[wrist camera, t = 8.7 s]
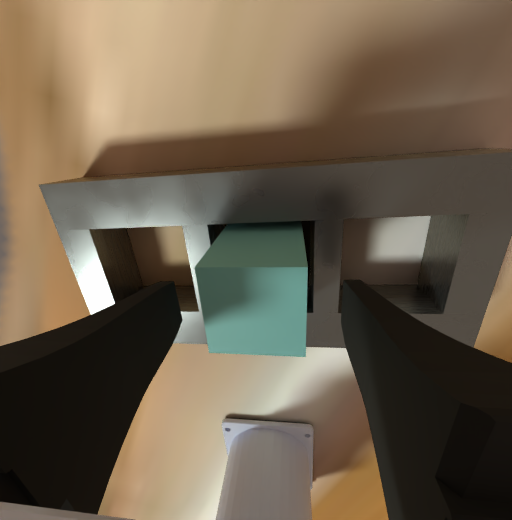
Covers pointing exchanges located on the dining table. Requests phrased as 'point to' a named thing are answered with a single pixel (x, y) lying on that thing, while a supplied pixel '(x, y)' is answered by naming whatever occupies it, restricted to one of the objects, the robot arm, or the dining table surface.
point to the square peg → (255, 289)
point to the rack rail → (321, 229)
